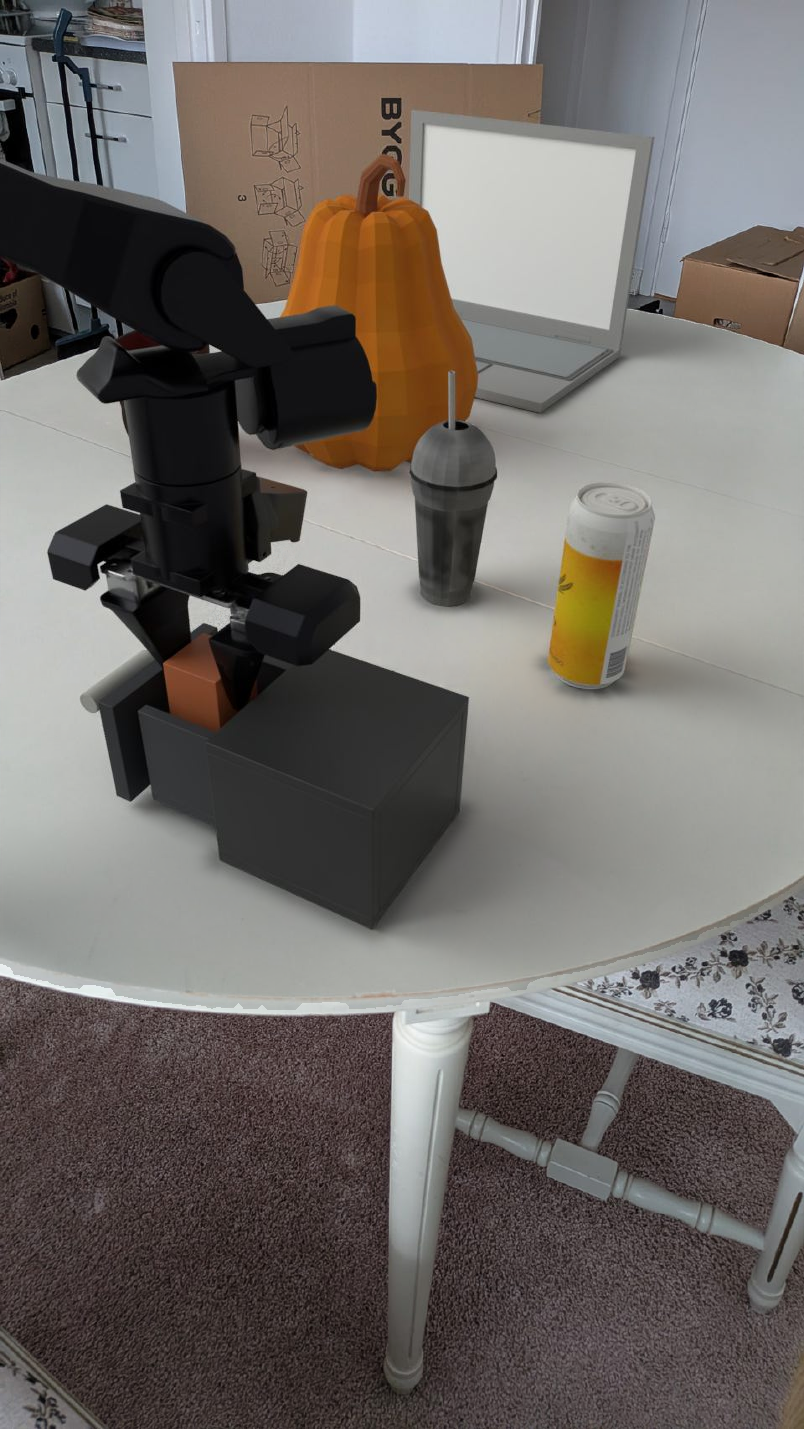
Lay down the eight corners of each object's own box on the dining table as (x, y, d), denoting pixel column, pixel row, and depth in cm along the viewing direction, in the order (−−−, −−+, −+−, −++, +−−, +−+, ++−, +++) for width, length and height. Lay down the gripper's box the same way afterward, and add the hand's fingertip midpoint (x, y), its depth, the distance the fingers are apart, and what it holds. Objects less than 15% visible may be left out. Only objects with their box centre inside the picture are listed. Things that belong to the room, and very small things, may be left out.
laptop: (310, 358, 137) (303, 130, 120) (409, 313, 155) (415, 109, 138) (540, 413, 123) (569, 165, 106) (620, 357, 141) (655, 136, 124)
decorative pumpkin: (514, 465, 111) (544, 159, 92) (324, 511, 101) (315, 179, 82) (404, 396, 126) (411, 124, 108) (230, 430, 116) (206, 136, 98)
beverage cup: (501, 587, 90) (523, 364, 77) (461, 623, 85) (478, 391, 72) (432, 564, 93) (442, 346, 80) (389, 598, 88) (393, 370, 75)
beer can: (577, 641, 83) (605, 472, 74) (638, 672, 80) (674, 499, 70) (531, 669, 80) (553, 496, 70) (592, 703, 76) (624, 526, 67)
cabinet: (219, 860, 62) (204, 741, 56) (319, 756, 70) (315, 644, 65) (372, 929, 58) (373, 810, 52) (459, 811, 66) (469, 696, 61)
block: (209, 682, 66) (203, 632, 64) (258, 701, 65) (254, 650, 62) (170, 714, 63) (162, 663, 61) (221, 735, 62) (215, 682, 59)
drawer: (69, 774, 67) (46, 681, 62) (168, 695, 74) (155, 605, 69) (240, 851, 62) (230, 755, 57) (330, 757, 69) (327, 665, 64)
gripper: (411, 450, 56) (403, 677, 65) (150, 386, 63) (178, 599, 72) (301, 529, 48) (310, 773, 58) (17, 446, 55) (67, 676, 64)
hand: (213, 696), depth 63 cm, fingers closed on block, 4 cm apart
